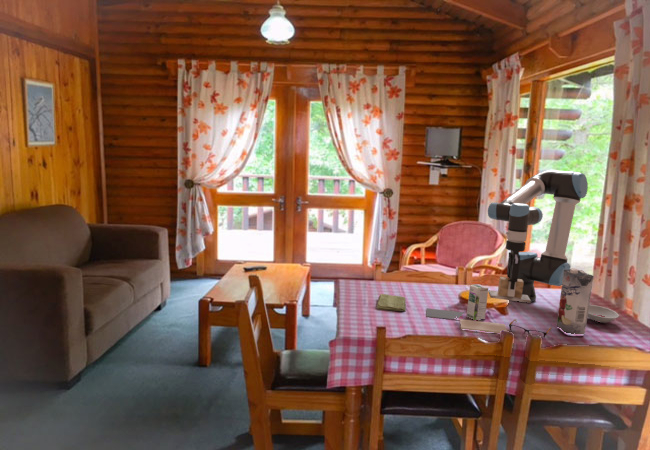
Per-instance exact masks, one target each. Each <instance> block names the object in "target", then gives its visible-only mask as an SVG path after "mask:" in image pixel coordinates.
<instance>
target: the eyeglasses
mask: <svg viewBox="0 0 650 450" xmlns="http://www.w3.org/2000/svg"><path fill="white" fill-rule="evenodd" d="M514 322H517V319H513V320H512V321H511V322H510V323H509V324H508V327H509V331H510V330H511V331H512V327H516V328H520V329H522V330H524V332H523V334H526V333H527V334H528V335H529V334H530V332H537V333H542V334H543V337H544V338H545V337H546V336H547V335H548V333H549V332H550V331H551V329H552V327H549V328H548V330H547V331H546V332H545V331H540V330H536V329H526V328H523V327H522V326H520V325H514V324H513V323H514ZM552 330H553V329H552Z"/></svg>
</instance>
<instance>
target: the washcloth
mask: <svg viewBox="0 0 650 450" xmlns="http://www.w3.org/2000/svg"><path fill="white" fill-rule="evenodd" d="M376 309H378V310H382V311H396V312H403V313H405V312H406V310H407V308H406V298H405V296H402V295H401V296H400V295H393V294H392V295H390V294H386V293H381V294H380V295H379V297H378V302H377V305H376Z"/></svg>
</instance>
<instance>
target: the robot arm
mask: <svg viewBox="0 0 650 450" xmlns="http://www.w3.org/2000/svg"><path fill="white" fill-rule="evenodd" d="M588 184H589V183H588V178H587V176H586V175H585V173H582V172H577V171H568V170H556V169H555V170H554V169H549V170H544V171H541V172H539V173H536V174H535V175H532V176H531V177H530V178H527V180H526V181H525V184H523V185H522V186H521V187H520V188H518V189H516V190H515V191H514V192H513V193H511V194H510V195H509V196H508V197H506V198H505V199H504V200H502V201H500V202H490V204H489V205H488V207H487V216H488V217H489V219H492V220H496V221H503V222H508V225H507V231H506V232H505V234H506V239H507V240H506V241H505V242H506V244H505V249H506V250H508V251H509V252H508V259H507V269H506V270H507V271H506V278H510V280H508V281H509V286H508V295H507V296H510V297H514V296H515V287H516V282H517V281H518V280H517V279H522V280H523V282H524V284H523V291H522V295H528V297H529V298H530V300H531V301H534V300H537V295H536V294H537V293H536V290H535V285H534V284H535V282H538V283H542V284H546V285H549V286H555V287H562V282H563V275H564V270H570V269H571V264H570V263H569V262H568V260H569V259H568V258H567V256H566V251H567V247H568V242H569V238H570V233H571V227H572V225H573V224H572V223H573V219H574V214H575V209H576V206H577V204H580V202H581V199H585V197H586V196H587V194H588V190H589V189H588V188H589V185H588ZM542 195H553V197H552V199H553V200H554V201H555V204H554V209H553V213H552V218H551V222H550V223H551V224H550V227H549V228H550V229H549V232H548V237H547V242H546V246H545V250H544V252H541V253H540V256H538V253H537V252H533V251H532V252H531V251H525V250H526V241H527V235H528V227H529V226H533V225H536V224H539V223H540V222H541V221H542V220H543V211H542V210H541V209H540V208H539V207H537V206H530V205H529V204H528V203H529V202H531V201H532V200H533V199H535V198H536V197H539V196H542ZM534 302H535V301H534Z"/></svg>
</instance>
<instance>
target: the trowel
mask: <svg viewBox="0 0 650 450" xmlns="http://www.w3.org/2000/svg"><path fill="white" fill-rule="evenodd" d="M508 280H510V278H508V277H507V276H506V277H504V276H499V280H498V288H497V290H489V289H488V295H489V297H490V299H496V300H497V299H498V300H506V301H512V302H517V301H519V302H518V303H526V302H527V303H529V304H531V303H532V302H531V300H530V298H529V297H528V295H522V291H523V284H524V282H523V280H522V279H517V280H518V281H517V282H516V287H515V296H514V297H510V296H507V295H508V286H509V281H508Z"/></svg>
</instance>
